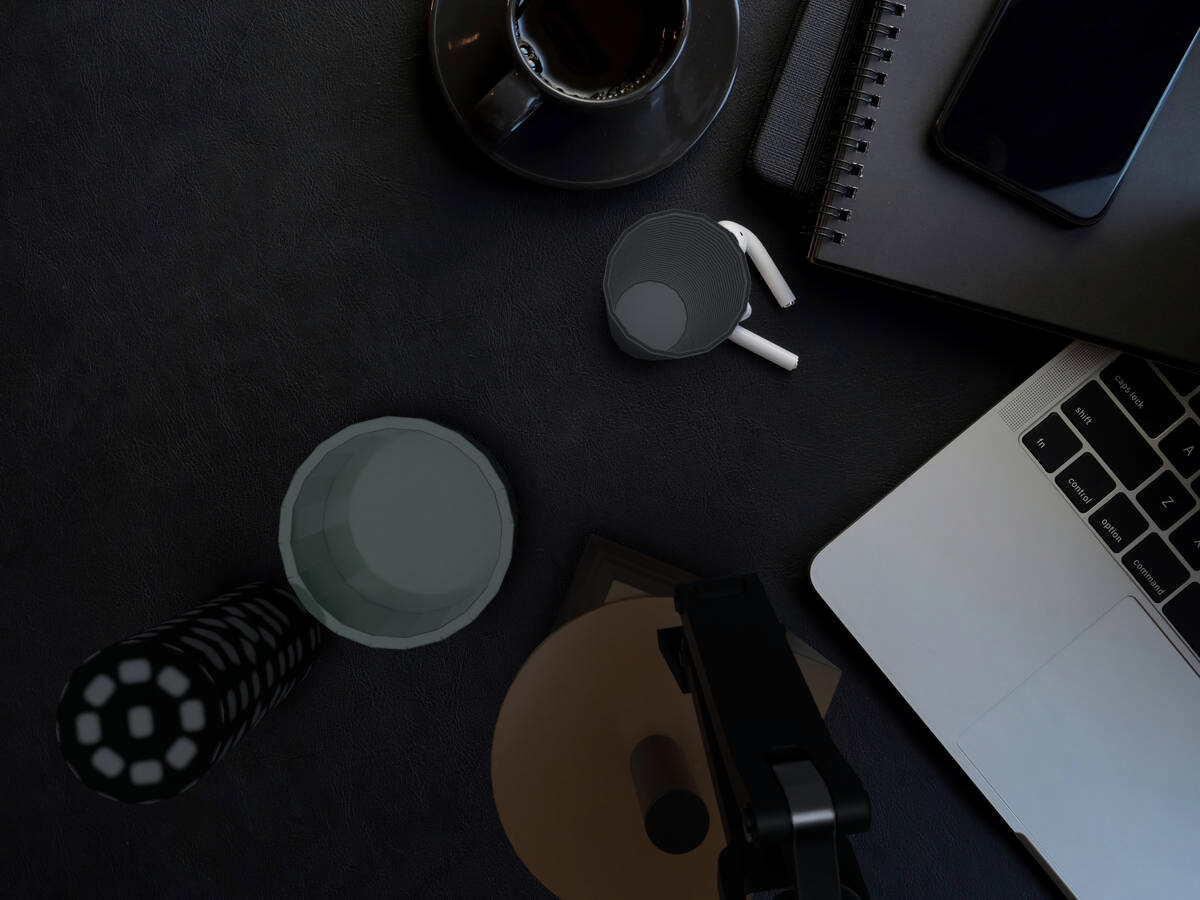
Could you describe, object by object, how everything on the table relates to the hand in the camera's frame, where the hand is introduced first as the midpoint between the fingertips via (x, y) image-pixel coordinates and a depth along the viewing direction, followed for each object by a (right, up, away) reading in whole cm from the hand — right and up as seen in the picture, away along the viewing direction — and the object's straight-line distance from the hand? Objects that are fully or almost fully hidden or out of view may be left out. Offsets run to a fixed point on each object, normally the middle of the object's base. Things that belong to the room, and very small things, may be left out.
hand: (715, 807), depth 36 cm
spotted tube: (-29, 0, +31) cm, 42 cm away
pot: (-18, +9, +32) cm, 37 cm away
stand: (-2, 0, +33) cm, 33 cm away
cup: (-1, +23, +33) cm, 40 cm away
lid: (-2, -1, +8) cm, 9 cm away
